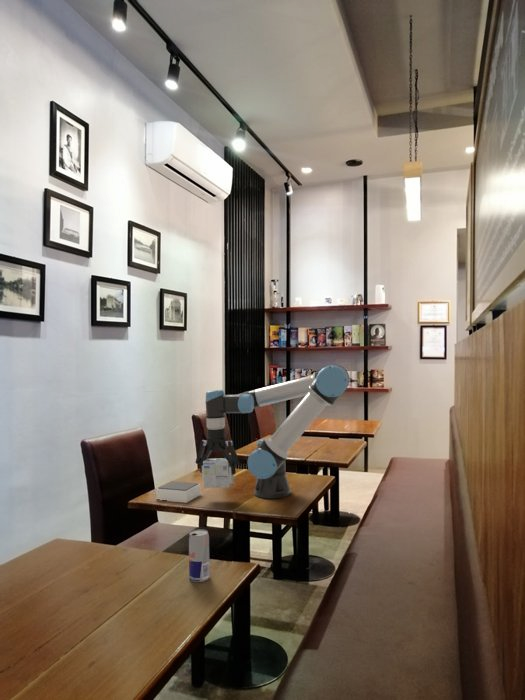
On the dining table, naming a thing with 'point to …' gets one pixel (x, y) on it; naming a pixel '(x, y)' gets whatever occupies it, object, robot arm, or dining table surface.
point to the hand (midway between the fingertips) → (218, 481)
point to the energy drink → (199, 556)
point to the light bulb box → (216, 473)
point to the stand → (178, 491)
